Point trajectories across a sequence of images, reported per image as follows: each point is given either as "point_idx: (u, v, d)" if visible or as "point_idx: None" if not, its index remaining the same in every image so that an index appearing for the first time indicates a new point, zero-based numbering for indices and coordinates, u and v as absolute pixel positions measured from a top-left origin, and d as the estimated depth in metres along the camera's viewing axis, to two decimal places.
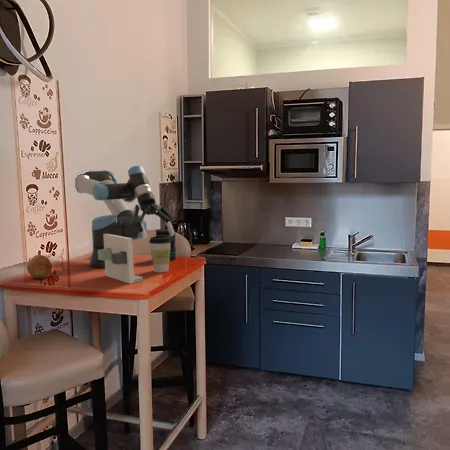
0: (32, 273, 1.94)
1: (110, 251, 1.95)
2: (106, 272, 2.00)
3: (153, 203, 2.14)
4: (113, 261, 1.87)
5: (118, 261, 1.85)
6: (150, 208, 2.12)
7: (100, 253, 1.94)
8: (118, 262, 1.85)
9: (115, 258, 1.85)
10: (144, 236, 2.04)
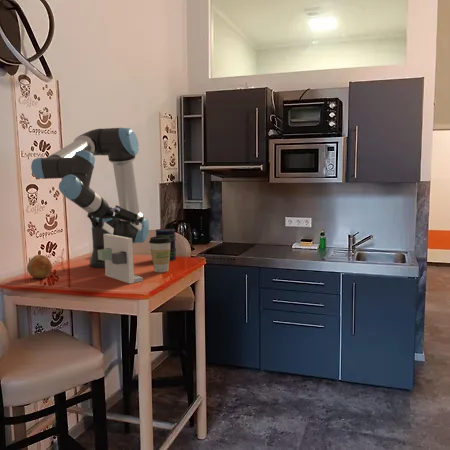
0: (32, 273, 1.94)
1: (110, 251, 1.95)
2: (106, 272, 2.00)
3: (106, 212, 1.74)
4: (113, 261, 1.87)
5: (118, 261, 1.85)
6: (105, 216, 1.77)
7: (100, 253, 1.94)
8: (118, 262, 1.85)
9: (115, 258, 1.85)
10: None
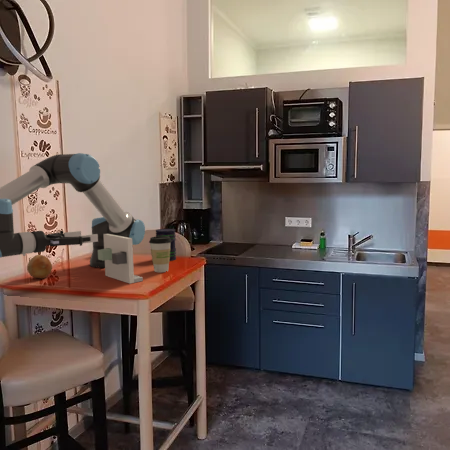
0: (32, 273, 1.94)
1: (110, 251, 1.95)
2: (106, 272, 2.00)
3: (48, 244, 1.65)
4: (113, 261, 1.87)
5: (118, 261, 1.85)
6: None
7: (100, 253, 1.94)
8: (118, 262, 1.85)
9: (115, 258, 1.85)
10: None
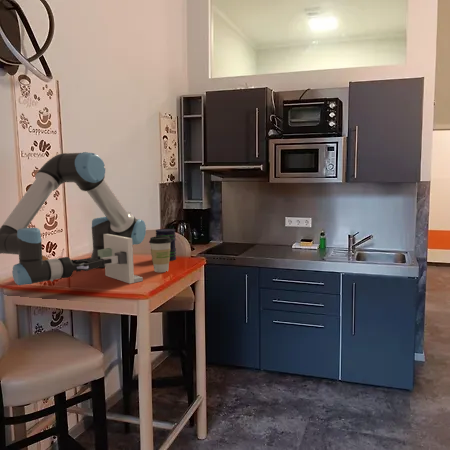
0: None
1: (110, 251, 1.95)
2: (106, 272, 2.00)
3: (74, 270, 1.71)
4: None
5: (121, 261, 1.85)
6: None
7: (100, 253, 1.94)
8: (121, 262, 1.86)
9: (118, 258, 1.86)
10: None
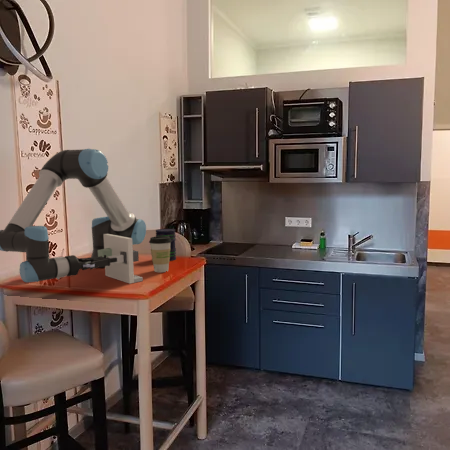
0: None
1: (110, 251, 1.95)
2: (106, 272, 2.00)
3: (80, 268, 1.73)
4: None
5: (126, 260, 1.87)
6: None
7: (100, 253, 1.94)
8: (126, 261, 1.87)
9: None
10: None
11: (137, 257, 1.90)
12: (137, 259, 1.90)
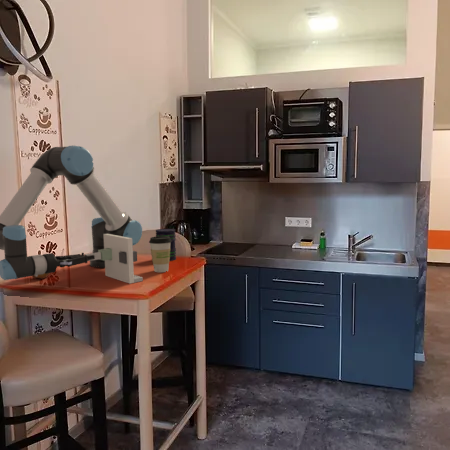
0: None
1: (110, 251, 1.95)
2: (106, 272, 2.00)
3: None
4: (120, 260, 1.89)
5: (125, 260, 1.87)
6: None
7: None
8: (125, 261, 1.87)
9: (122, 257, 1.87)
10: None
11: (136, 257, 1.90)
12: (136, 259, 1.90)
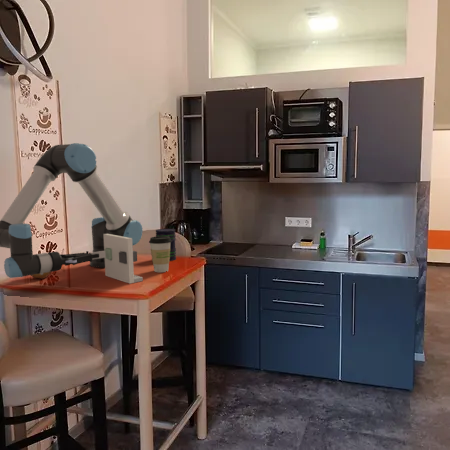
0: None
1: None
2: (106, 272, 2.00)
3: (63, 264, 1.81)
4: (120, 260, 1.89)
5: (125, 260, 1.87)
6: None
7: (107, 252, 1.96)
8: (125, 261, 1.87)
9: (122, 257, 1.87)
10: None
11: (136, 257, 1.90)
12: (136, 259, 1.90)
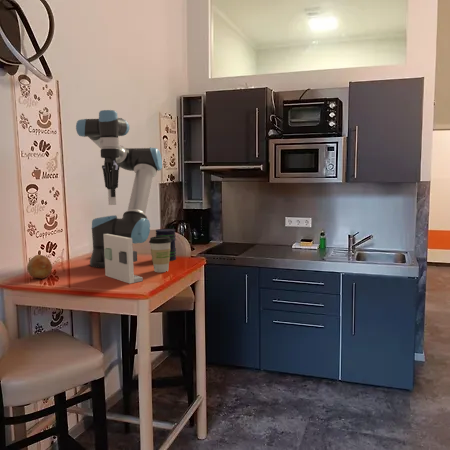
0: (32, 273, 1.94)
1: None
2: (106, 272, 2.00)
3: (110, 159, 1.93)
4: (120, 260, 1.89)
5: (125, 260, 1.87)
6: None
7: (107, 252, 1.96)
8: (125, 261, 1.87)
9: (122, 257, 1.87)
10: None
11: (136, 257, 1.90)
12: (136, 259, 1.90)
